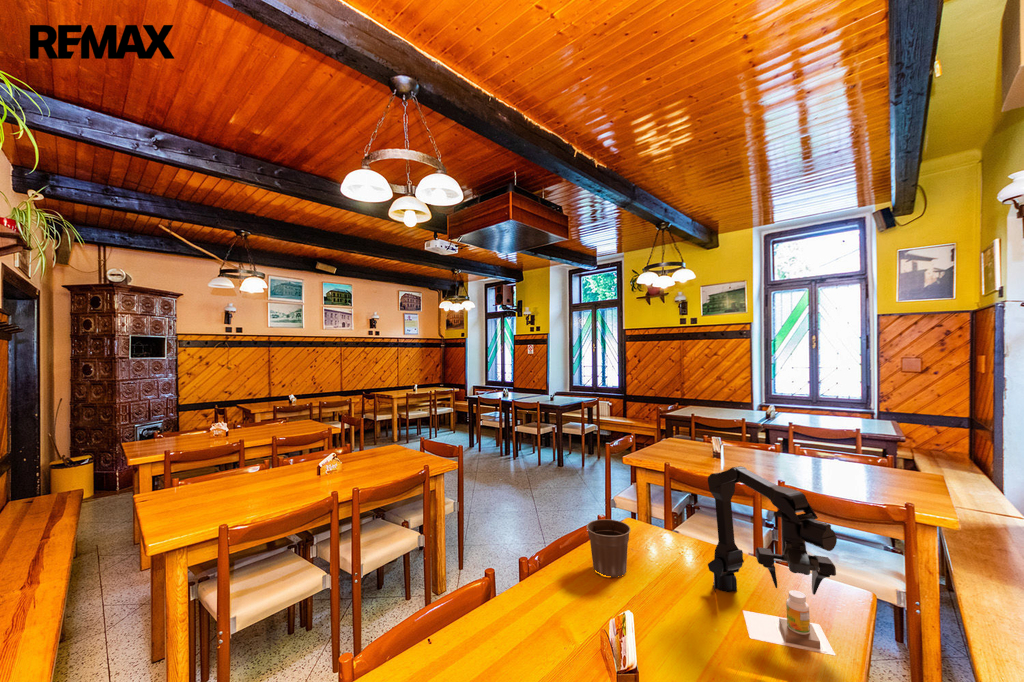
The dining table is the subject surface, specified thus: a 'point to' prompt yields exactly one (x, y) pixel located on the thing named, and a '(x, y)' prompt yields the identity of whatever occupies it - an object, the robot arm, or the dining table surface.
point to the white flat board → (780, 632)
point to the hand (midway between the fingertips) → (794, 590)
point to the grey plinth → (799, 636)
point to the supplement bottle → (798, 613)
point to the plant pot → (609, 546)
